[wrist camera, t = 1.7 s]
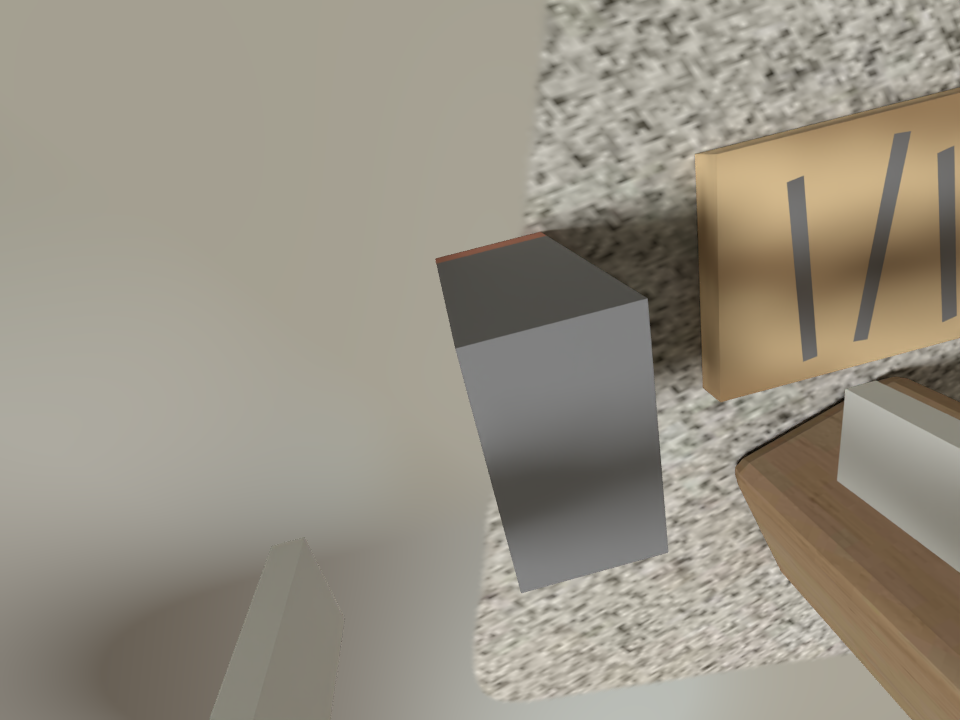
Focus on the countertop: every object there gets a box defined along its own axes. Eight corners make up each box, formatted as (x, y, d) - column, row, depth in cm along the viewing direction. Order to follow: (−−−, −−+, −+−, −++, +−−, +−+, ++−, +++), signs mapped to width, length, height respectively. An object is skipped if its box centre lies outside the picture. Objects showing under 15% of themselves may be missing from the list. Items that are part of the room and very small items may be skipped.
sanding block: (435, 258, 20) (455, 348, 11) (540, 231, 20) (647, 298, 11) (478, 419, 23) (521, 593, 14) (568, 396, 23) (668, 552, 14)
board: (694, 154, 20) (716, 154, 18) (1018, 72, 20) (1063, 66, 19) (703, 388, 24) (720, 402, 23) (966, 317, 24) (999, 327, 23)
